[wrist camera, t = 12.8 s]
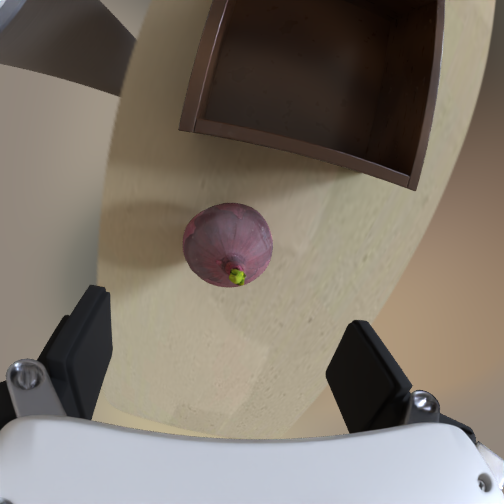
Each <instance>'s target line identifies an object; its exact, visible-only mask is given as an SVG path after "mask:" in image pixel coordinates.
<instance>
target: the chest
mask: <svg viewBox="0 0 504 504" xmlns="http://www.w3.org/2000/svg"><path fill="white" fill-rule="evenodd" d="M444 18H445V0H213V2H212V5H211V8H210V11H209V14H208V17H207V20H206V23H205V27H204V30H203V33H202V37H201V40H200V44H199V47H198V51H197V54H196V58H195V62H194V65H193V69H192V73H191V77H190V81H189V85H188V89H187V93H186V97H185V102H184V106H183V110H182V115H181V120H180V124H179V130H180V131H187V132H193V133H199V134H205V135H211V136H216V137H222V138H227V139H232V140H237V141H242V142H247V143H252V144H256V145H261V146H265V147H270V148H274V149H278V150H282V151H286V152H290V153H294V154H298V155H302V156H306V157H310V158H313V159H317V160H321V161H324V162H328V163H331V164H335V165H338V166H341V167H345V168H348V169H351V170H355V171H358V172H361V173H364V174H367V175H370V176H373V177H376V178H379V179H382V180H385V181H388V182H391V183H394V184H396V185H399V186H402V187H405V188H408V189H410V190H413V191H416V189H417V185H418V182H419V178H420V174H421V170H422V167H423V163H424V158H425V154H426V150H427V146H428V141H429V136H430V132H431V127H432V122H433V116H434V111H435V105H436V99H437V92H438V86H439V78H440V70H441V61H442V51H443V38H444Z"/></svg>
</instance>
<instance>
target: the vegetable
mask: <svg viewBox="0 0 504 504" xmlns="http://www.w3.org/2000/svg"><path fill="white" fill-rule="evenodd" d="M272 250H273V240H272V236H271V232H270V229H269V227H268V224H267V222H266V221H265V219H264V218H263V217H262V215H261V214H260V213H259V212H257V211H256V210H255V209H253V208H252V207H249V206H246V205H243V204H239V203H223V204H219V205H215V206H212V207H210V208H208V209H206V210H204V211H202V212H200V213H199V214H197V215H196V216H195V217H194V218H193V219H192V220H191V221H190V222H189V224H188V225H187V227H186V229H185V232H184V235H183V253H184V256H185V259H186V261H187V263H188V265H189V266H190V268H191V269H192V271H193V272H194V273H196V274H197V275H198V276H199V277H200V278H201V279H203V280H204V281H206V282H208V283H210V284H213V285H216V286H220V287H238V286H242V285H245V284H247V283H250V282H251V281H253V280H255V279H256V278H257V277H258V276H260V275H261V274H262V273H263V272H264V271H265V269H266V268H267V266H268V264H269V262H270V260H271V256H272Z"/></svg>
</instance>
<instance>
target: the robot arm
mask: <svg viewBox="0 0 504 504" xmlns="http://www.w3.org/2000/svg"><path fill="white" fill-rule="evenodd" d="M5 1H6V0H0V8H1V7H2V5H3V4H4V3H5ZM112 350H113V346H112V331H111V308H110V293H109V292H106V289H105V287H100V286H94V285H90V286H89V287H88V289H87V290H86V292H85V293H84V295H83V296H82V298H81V299H80V301H79V302H78V304H77V305H76V307H75V309H74V310H73V312H72V313H71V315H70V316H69V315H65V316H64V317H63V318H62V320H61V321H60V323H59V324H58V326H57V328H56V329H55V331H54V332H53V334H52V336H51V337H50V339H49V341H48V342H47V344H46V346H45V347H44V349H43V351H42V352H41V354H40V356H39V358H38V359H37V361H36V360H33V359H21V360H18V361H16V362H14V363H13V364H12V365H10V367H9V368H8V370H7V373H6V381H3V382H0V504H504V495H503V493H502V491H501V490H502V487H503V484H504V460H503V459H502V458H500V457H499V456H498V455H496V454H495V453H494V452H492V451H491V450H490V449H488V448H487V447H486V446H484V445H483V444H482V443H480V442H479V441H478V442H477V443H476V437H475V434H474V433H473V430H472V429H471V428H470V427H468V426H466V425H464V424H462V423H460V422H457V421H456V420H453V419H451V418H449V417H447V416H445V415H443V414H441V413H440V405H439V402H438V400H437V399H436V398H435V397H434V396H433V395H432V394H430V393H429V392H427V391H423V390H416V391H414V392H412V393H410V392H409V390H410V389H411V388H412V384H411V383H410V381H409V380H408V378H407V377H406V375H405V374H404V373H403V371H402V369H401V368H400V366H399V365H398V363H397V362H396V361H395V359H394V358H393V356H392V355H391V353H390V352H389V351H388V349H387V348H386V346H385V345H384V343H383V342H382V341H381V339H380V338H379V336H378V335H377V334H376V332H375V331H374V329H373V328H372V327H371V325H370V324H369V323H368V322H367V321H363V320H354V321H352V323H350V324H348V326H347V328H346V330H345V332H344V335H343V337H342V339H341V341H340V343H339V345H338V347H337V349H336V352H335V354H334V356H333V358H332V360H331V362H330V364H329V366H328V368H327V370H326V379H327V381H328V383H329V386H330V388H331V391H332V393H333V395H334V398H335V400H336V402H337V405H338V407H339V409H340V412H341V414H342V416H343V419H344V421H345V423H346V426H347V428H348V431H349V433H350V434H343V435H335V436H323V437H311V438H294V439H225V438H208V437H195V436H185V435H175V434H167V433H161V432H154V431H146V430H140V429H134V428H128V427H123V426H118V425H113V424H108V423H102V422H97V421H92V420H91V419H92V416H93V412H94V409H95V406H96V402H97V399H98V396H99V393H100V389H101V386H102V383H103V380H104V377H105V374H106V371H107V368H108V365H109V362H110V359H111V356H112Z"/></svg>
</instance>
